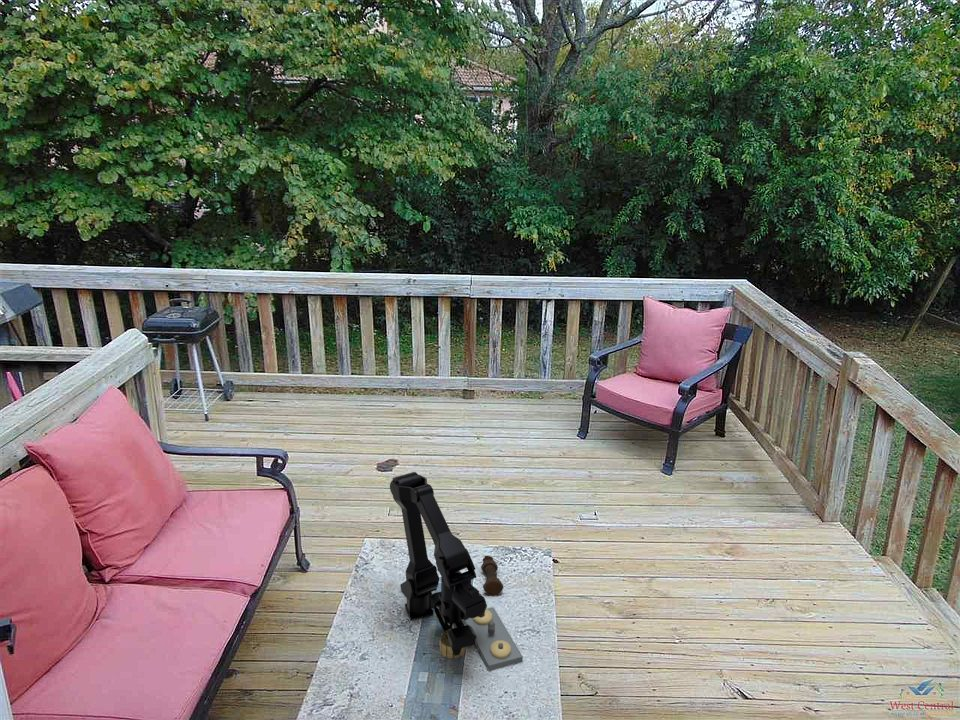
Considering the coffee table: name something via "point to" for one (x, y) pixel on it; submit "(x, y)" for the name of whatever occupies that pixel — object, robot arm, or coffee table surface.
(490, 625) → the gear board
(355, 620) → the coffee table surface
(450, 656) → the brass gear
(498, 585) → the bolt
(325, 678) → the coffee table surface
